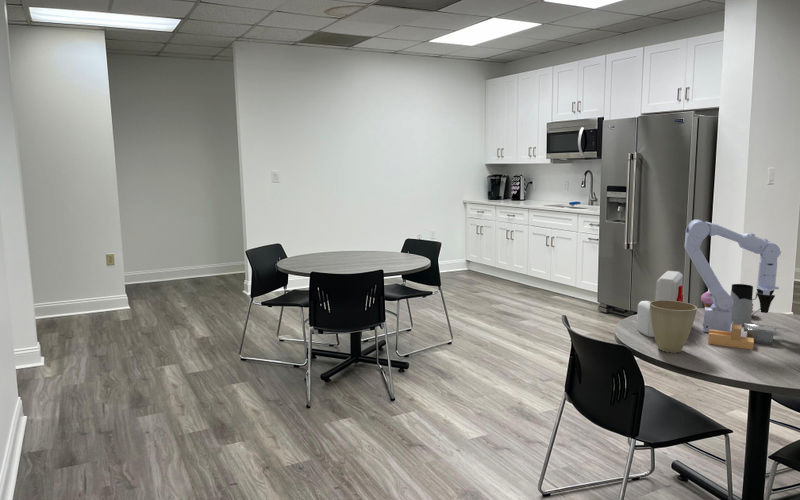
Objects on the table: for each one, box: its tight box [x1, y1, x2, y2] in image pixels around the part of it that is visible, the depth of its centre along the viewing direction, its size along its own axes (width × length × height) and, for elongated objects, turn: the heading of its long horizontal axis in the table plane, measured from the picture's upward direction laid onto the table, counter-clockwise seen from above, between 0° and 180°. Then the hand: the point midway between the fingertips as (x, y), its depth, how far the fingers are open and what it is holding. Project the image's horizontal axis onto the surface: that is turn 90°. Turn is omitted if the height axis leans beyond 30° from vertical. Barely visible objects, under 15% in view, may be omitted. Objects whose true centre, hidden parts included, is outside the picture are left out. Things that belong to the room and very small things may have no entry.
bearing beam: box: [707, 323, 755, 350], centre depth 214 cm, size 14×6×7 cm, turn 60°
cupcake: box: [700, 290, 713, 313], centre depth 256 cm, size 9×9×10 cm
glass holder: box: [729, 283, 761, 326], centre depth 242 cm, size 9×14×15 cm, turn 82°
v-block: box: [746, 323, 774, 346], centre depth 219 cm, size 8×10×4 cm
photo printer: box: [636, 300, 655, 338], centre depth 228 cm, size 10×4×12 cm, turn 3°
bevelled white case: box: [654, 270, 684, 302], centre depth 240 cm, size 21×8×20 cm, turn 148°
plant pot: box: [649, 300, 698, 354], centre depth 208 cm, size 15×15×16 cm
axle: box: [743, 323, 777, 337], centre depth 219 cm, size 10×3×3 cm, turn 60°
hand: (764, 310), depth 225 cm, fingers open, 7 cm apart
